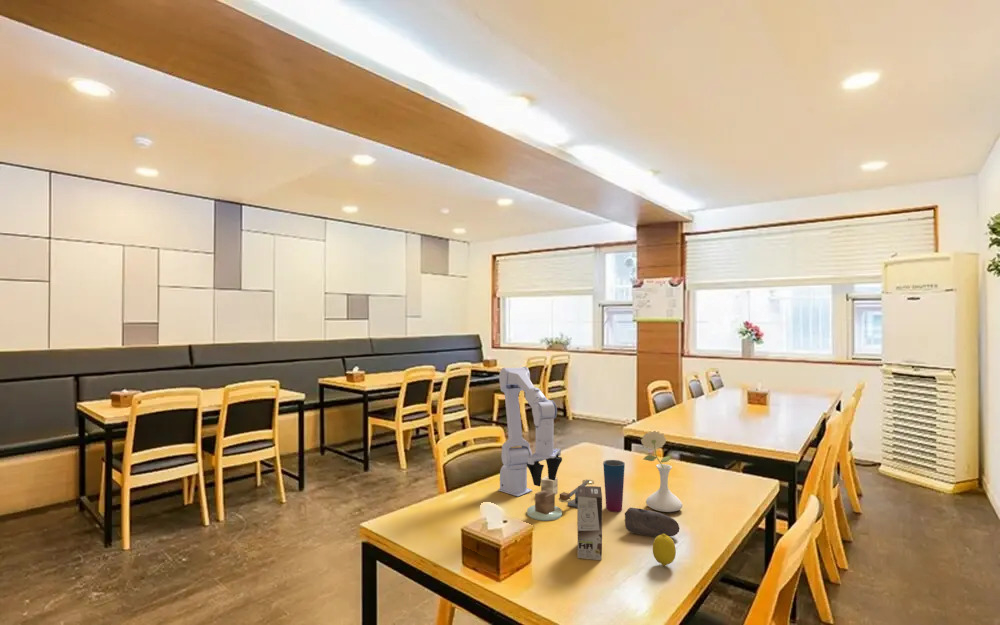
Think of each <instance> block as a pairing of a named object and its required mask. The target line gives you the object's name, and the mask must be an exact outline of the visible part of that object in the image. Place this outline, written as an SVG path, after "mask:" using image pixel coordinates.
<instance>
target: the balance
mask: <svg viewBox="0 0 1000 625" xmlns="http://www.w3.org/2000/svg"><path fill="white" fill-rule="evenodd" d="M593 484H594V485H595V480H593V479H583V480H582V483H581V484H580V485H579V486H589V485H590V486H591V485H593ZM572 496H574V498H573V499H572ZM558 501H559V502H561V503H567V506H569V507H572V508H575V509H577V508H578V486H577V487H575V489H573V490H572V491H570V492H565V491H563V492H561V493H559V497H558Z"/></svg>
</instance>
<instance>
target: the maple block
mask: <svg viewBox="0 0 1000 625" xmlns="http://www.w3.org/2000/svg"><path fill="white" fill-rule="evenodd" d="M558 478H559V477H556V478H555V480H550V479H549V477H548V475H545V476H544V477H541V485H540V491H543V490H545V491H549V492H552V493H555V496H556V495H557V494H558V493H559V492H558V489H559V488H558V483H559V482H558Z"/></svg>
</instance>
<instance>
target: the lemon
mask: <svg viewBox="0 0 1000 625" xmlns="http://www.w3.org/2000/svg"><path fill="white" fill-rule="evenodd" d="M652 543H653V544H652V554H653V557H654V559H655V561H657V562H658V564H661V565H662V566H663V567H666V566H668V565H670V564H671V563H673V562H674V560H675V559H676V553H677V552H676V551H677V549H676V544H675V543H674V540H673V539H672V537H669V536H667V535H666V534H662V535H659V536H655V538H654V540H653V542H652Z"/></svg>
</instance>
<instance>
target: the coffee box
mask: <svg viewBox="0 0 1000 625" xmlns="http://www.w3.org/2000/svg"><path fill="white" fill-rule="evenodd" d="M577 487H578V508H576V509H577V516H576V517H577V523H576V524H577V559H585V560H594V561H595V560H596V561H601V560H602V559H603V558H602V555H603V554H602V553H603V551H602V550H603V493H602V486H596V485H595V486H593V485H590V486H589V485H586V486H580V485H578V486H577Z"/></svg>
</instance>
